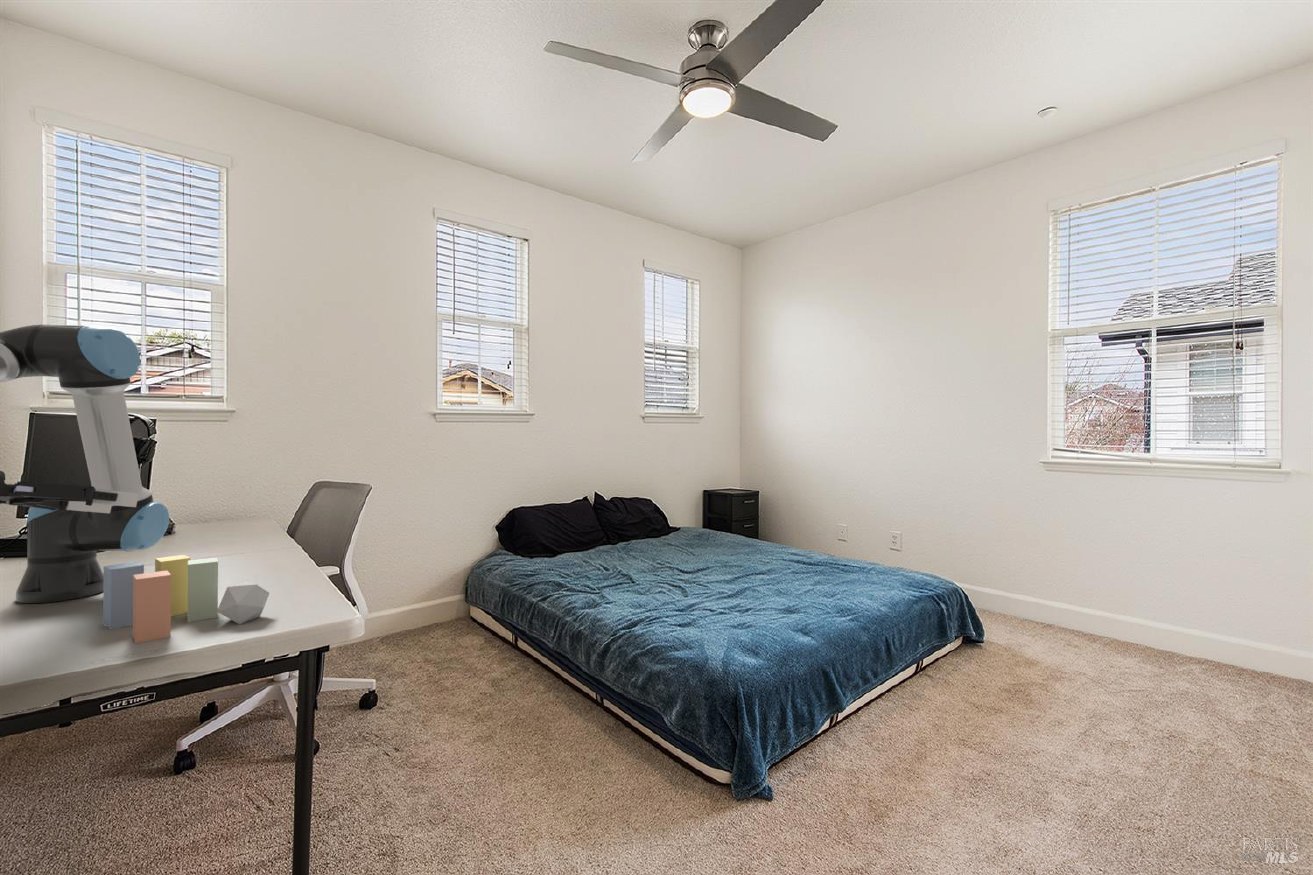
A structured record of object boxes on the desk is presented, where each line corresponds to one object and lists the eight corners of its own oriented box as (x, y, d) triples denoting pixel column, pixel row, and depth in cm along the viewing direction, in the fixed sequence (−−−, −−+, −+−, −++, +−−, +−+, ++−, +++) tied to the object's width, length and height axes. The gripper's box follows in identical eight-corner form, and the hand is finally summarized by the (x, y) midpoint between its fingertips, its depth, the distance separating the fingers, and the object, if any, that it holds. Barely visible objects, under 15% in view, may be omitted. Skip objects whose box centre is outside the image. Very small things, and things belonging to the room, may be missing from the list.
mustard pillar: (154, 613, 124) (155, 558, 124) (183, 607, 128) (184, 554, 128) (160, 617, 121) (160, 561, 121) (190, 612, 125) (190, 557, 125)
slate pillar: (103, 624, 116) (103, 566, 116) (135, 617, 121) (135, 561, 120) (111, 629, 114) (111, 569, 114) (143, 622, 118) (143, 564, 118)
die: (274, 622, 120) (280, 580, 126) (238, 613, 113) (246, 568, 119) (241, 634, 121) (249, 591, 127) (203, 625, 114) (213, 581, 120)
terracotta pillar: (132, 636, 110) (133, 574, 110) (166, 630, 113) (167, 570, 113) (135, 643, 106) (136, 579, 106) (170, 636, 110) (171, 574, 110)
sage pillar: (187, 615, 122) (187, 560, 122) (216, 611, 125) (217, 557, 125) (187, 621, 118) (187, 564, 118) (217, 617, 122) (218, 561, 121)
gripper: (-59, 516, 103) (96, 526, 121) (-24, 502, 91) (144, 516, 108) (-46, 476, 105) (105, 492, 123) (-10, 457, 93) (152, 478, 110)
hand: (123, 503), depth 116 cm, fingers open, 13 cm apart
